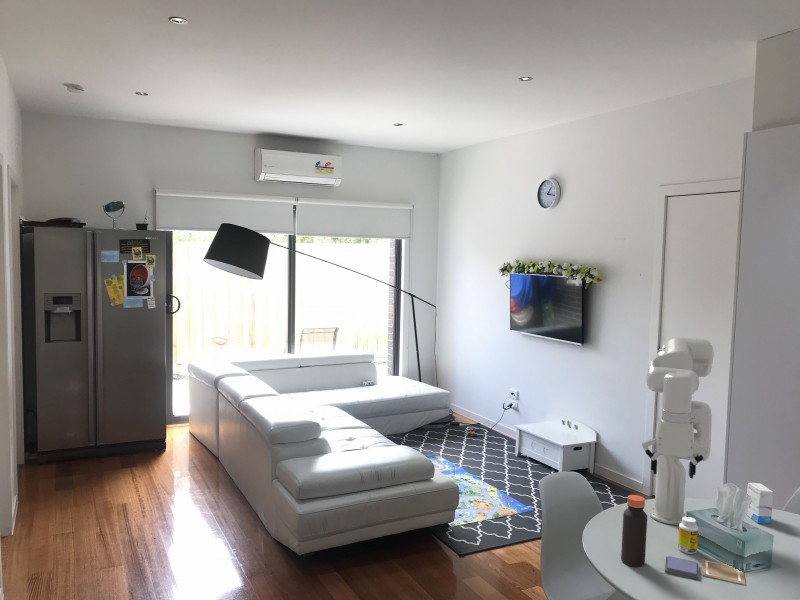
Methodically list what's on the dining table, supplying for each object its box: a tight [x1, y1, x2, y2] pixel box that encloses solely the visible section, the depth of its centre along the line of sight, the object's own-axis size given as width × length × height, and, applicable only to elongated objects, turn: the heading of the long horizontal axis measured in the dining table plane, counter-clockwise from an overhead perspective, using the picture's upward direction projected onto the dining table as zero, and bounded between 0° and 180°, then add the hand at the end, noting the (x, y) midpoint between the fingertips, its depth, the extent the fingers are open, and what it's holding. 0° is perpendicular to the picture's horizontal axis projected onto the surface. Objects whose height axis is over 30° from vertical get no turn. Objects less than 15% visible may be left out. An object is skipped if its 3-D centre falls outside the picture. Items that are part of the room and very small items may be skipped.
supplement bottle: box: [677, 516, 699, 555], centre depth 197 cm, size 6×6×10 cm
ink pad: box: [664, 555, 700, 581], centre depth 185 cm, size 9×9×2 cm
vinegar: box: [620, 494, 648, 568], centre depth 188 cm, size 7×7×20 cm
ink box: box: [746, 482, 774, 525], centre depth 221 cm, size 9×5×12 cm, turn 179°
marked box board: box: [701, 558, 746, 586], centre depth 184 cm, size 11×11×1 cm
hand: (672, 474), depth 179 cm, fingers open, 9 cm apart
